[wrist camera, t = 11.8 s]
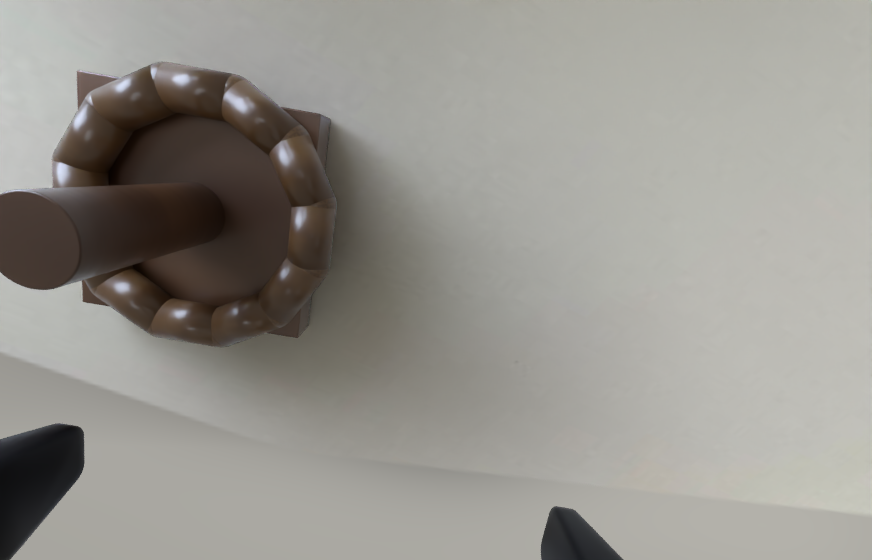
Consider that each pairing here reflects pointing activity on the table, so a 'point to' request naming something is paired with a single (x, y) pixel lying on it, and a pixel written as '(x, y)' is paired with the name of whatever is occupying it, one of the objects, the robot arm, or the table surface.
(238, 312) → the ring
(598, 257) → the table surface
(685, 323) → the table surface
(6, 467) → the robot arm
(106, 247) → the post
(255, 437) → the table surface
